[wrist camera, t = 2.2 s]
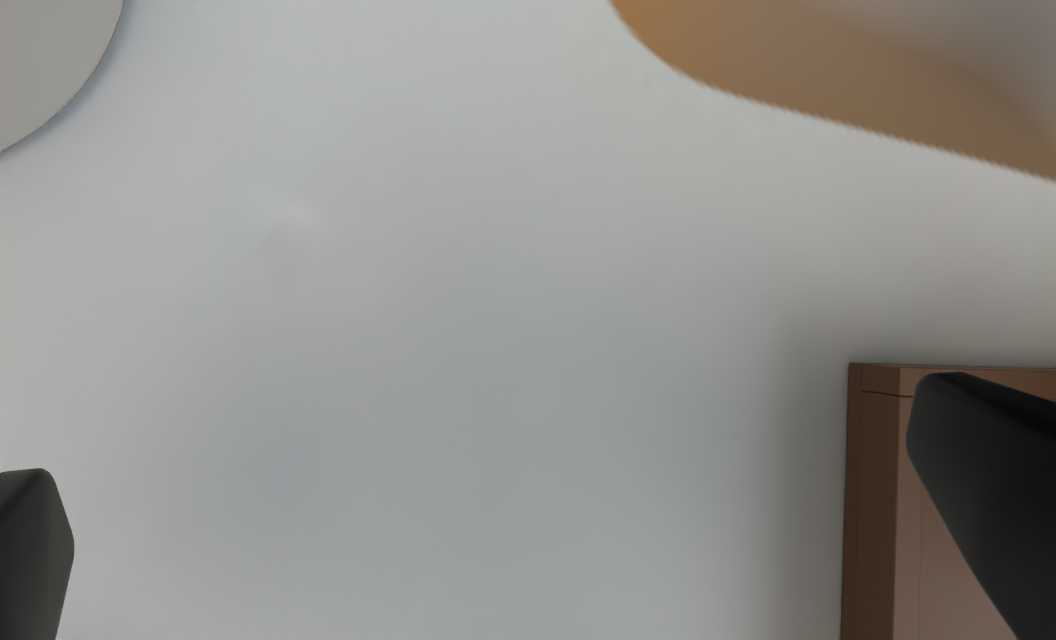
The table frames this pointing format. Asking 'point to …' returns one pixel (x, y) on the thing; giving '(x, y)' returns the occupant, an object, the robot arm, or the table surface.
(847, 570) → the tray
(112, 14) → the cylinder vase
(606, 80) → the table surface
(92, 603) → the table surface
